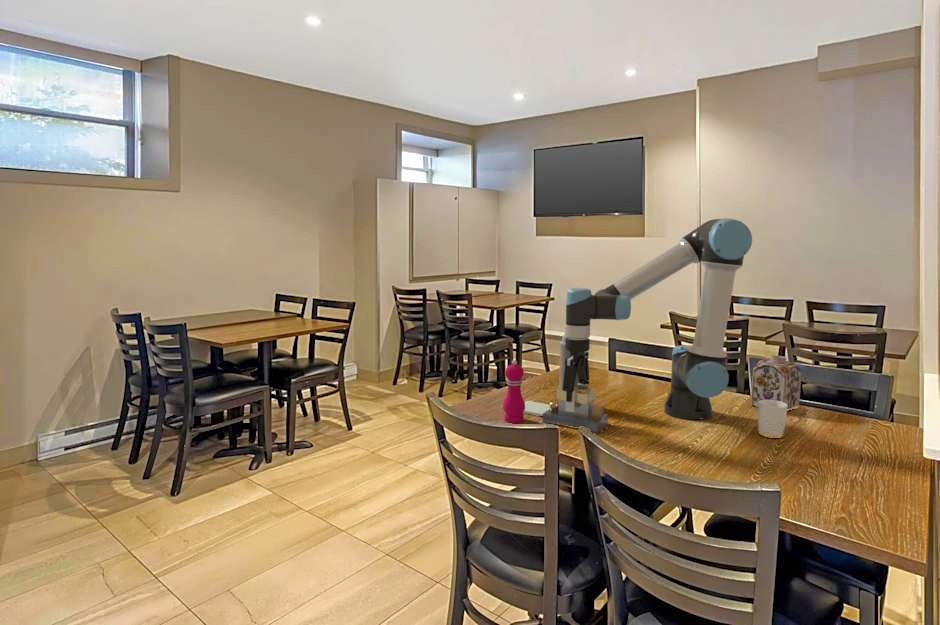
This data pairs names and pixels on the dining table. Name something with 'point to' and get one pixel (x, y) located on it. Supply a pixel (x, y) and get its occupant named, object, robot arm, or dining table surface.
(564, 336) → the thermos bottle
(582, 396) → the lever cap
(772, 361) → the decorative jar
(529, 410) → the rubber mat
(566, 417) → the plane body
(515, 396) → the pepper mill
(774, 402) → the white cup
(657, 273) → the robot arm
